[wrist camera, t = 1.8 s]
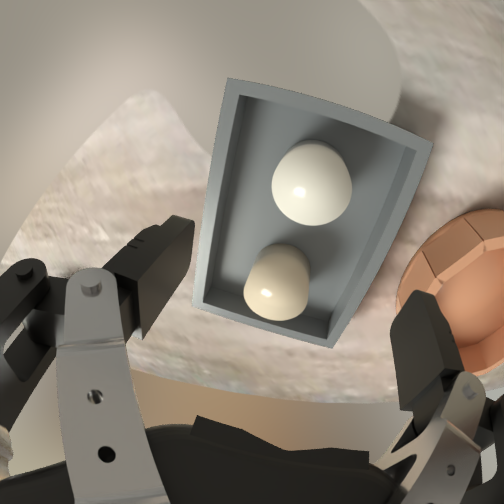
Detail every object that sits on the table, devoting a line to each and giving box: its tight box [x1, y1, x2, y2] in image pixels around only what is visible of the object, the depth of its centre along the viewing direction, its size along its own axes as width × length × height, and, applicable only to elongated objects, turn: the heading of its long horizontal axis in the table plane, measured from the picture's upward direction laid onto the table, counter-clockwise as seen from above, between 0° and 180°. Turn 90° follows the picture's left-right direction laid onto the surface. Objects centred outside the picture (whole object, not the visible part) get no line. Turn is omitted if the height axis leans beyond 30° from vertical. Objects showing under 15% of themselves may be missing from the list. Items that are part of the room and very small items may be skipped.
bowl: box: [396, 209, 504, 376], centre depth 21 cm, size 18×18×5 cm
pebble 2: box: [272, 140, 352, 226], centre depth 19 cm, size 5×5×4 cm
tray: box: [192, 78, 434, 348], centre depth 22 cm, size 20×14×4 cm
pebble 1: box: [244, 243, 311, 321], centre depth 24 cm, size 5×5×4 cm
